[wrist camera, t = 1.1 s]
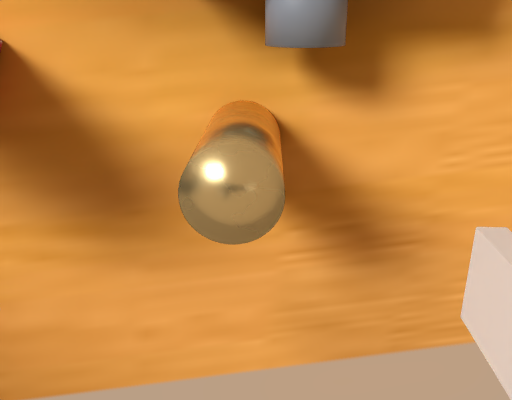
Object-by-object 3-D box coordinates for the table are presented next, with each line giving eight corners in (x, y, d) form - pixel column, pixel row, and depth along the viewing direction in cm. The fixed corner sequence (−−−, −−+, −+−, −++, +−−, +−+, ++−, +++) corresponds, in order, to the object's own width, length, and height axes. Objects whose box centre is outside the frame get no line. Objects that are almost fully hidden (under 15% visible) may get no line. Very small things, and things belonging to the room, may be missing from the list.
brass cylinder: (208, 172, 27) (181, 244, 19) (205, 100, 26) (174, 144, 17) (279, 172, 27) (284, 244, 19) (280, 100, 26) (285, 144, 17)
